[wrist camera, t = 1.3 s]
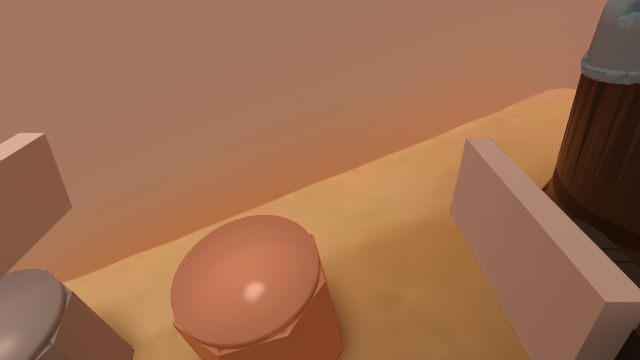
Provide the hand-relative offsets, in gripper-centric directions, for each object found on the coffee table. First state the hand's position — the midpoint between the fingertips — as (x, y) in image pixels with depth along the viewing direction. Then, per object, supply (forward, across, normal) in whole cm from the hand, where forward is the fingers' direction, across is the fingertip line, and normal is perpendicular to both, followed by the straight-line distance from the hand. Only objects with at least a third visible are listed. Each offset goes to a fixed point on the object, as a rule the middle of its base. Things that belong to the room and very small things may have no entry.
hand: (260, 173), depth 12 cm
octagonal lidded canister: (+10, -1, -22) cm, 24 cm away
